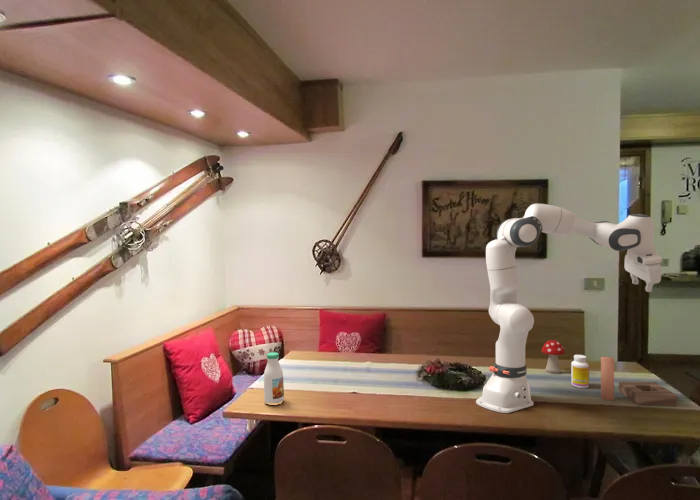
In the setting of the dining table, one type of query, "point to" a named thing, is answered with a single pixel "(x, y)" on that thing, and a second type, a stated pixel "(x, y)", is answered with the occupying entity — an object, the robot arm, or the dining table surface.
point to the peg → (607, 378)
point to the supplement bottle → (580, 372)
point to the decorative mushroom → (553, 356)
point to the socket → (647, 393)
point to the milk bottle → (273, 380)
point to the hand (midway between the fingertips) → (641, 287)
